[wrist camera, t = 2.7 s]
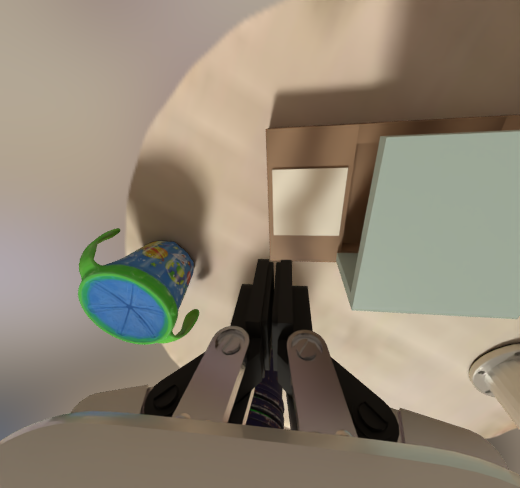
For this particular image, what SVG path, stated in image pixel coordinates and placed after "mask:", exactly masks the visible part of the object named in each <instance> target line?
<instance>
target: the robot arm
mask: <svg viewBox="0 0 520 488" xmlns="http://www.w3.org/2000/svg"><path fill="white" fill-rule="evenodd" d="M272 343H273V370H274V371H278V383H279V384H280V385H281V386H282V388H283V389H284V390H285V391H286V397H287V404H288V412H289V419H290V427H291V430H286V429H277V428H268V427H258V426H249V425H246V421H247V417H248V414H249V410H250V406H251V402H252V399H253V395H254V389H255V387H256V386H257V385H258V384H259V383H260V382H261V381H262V378H264V377H265V370H270V361H271V347H272ZM469 378H470V381H471V382H472V384H473V385H474V387H475V388H476V389H477V390H478V391H480V392H481V393H483V394H486V395H488V396H491V397H495V398H496V399H497V400H498V402H499V403H500V404H501V406H502V407H503V408H504V410H505V411H506V413H507V414H508V415H509V417H510V418H511V419H512V421H513V422H514V423H515V425H516V426H517V428H518V429H519V430H520V344H513V345H509V346H505V347H502V348H499V349H496V350H493V351H491V352H489V353H487V354H485V355H484V356H482V357H480V358H479V359H478V360H477V361H476V362H475V363H474V364H473V365H472V367H471V368H470V371H469ZM0 488H520V475H519V474H517V473H514V472H512V471H510V470H509V469H508V466H507V464H506V463H505V461H504V459H503V458H502V456H501V454H500V453H499V452H498V451H497V450H496V449H495V448H494V447H493V445H492V444H491V443H490V442H488V441H487V440H486V439H484V438H483V437H482V436H480V435H479V434H477V433H474V432H472V431H470V430H468V429H465V428H461V427H458V426H455V425H452V424H449V423H446V422H443V421H440V420H437V419H433V418H430V417H427V416H424V415H421V414H418V413H415V412H412V411H409V410H405V409H402V408H400V409H399V410H396V409H393V408H390V407H389V406H388V405H387V404H386V403H385V402H384V401H383V400H382V399H380V398H379V397H378V396H377V395H376V394H374V393H373V392H372V391H371V390H370V389H369V388H367V387H366V386H365V385H364V384H363V383H361V382H360V381H359V380H358V379H357V378H355V377H354V376H353V375H352V374H351V373H349V372H348V371H347V370H346V369H345V368H343V367H342V366H341V365H340V364H339V363H337V362H336V361H335V360H334V359H333V358H331V357H330V354H329V351H328V348H327V345H326V343H325V341H324V339H323V338H322V337H321V336H320V335H318V334H317V333H315V332H313V331H312V322H311V313H310V304H309V296H308V287H307V286H292V260H281V262H277V263H276V275H275V288H274V266H273V262H269V259H258V263H257V268H256V273H255V277H254V282H253V285H251V284H242V286H241V290H240V293H239V297H238V300H237V304H236V308H235V311H234V315H233V318H232V322H231V326H228V327H225V328H223V329H221V330H219V331H218V332H217V333H216V334H215V335H214V337H213V338H212V340H211V342H210V344H209V346H208V348H207V350H206V352H204V353H203V354H201V355H200V356H198V357H197V358H195V359H194V360H192V361H191V362H189V363H188V364H186V365H184V366H183V367H181V368H180V369H178V370H177V371H175V372H174V373H172V374H171V375H169V376H168V377H166V378H165V379H163V380H162V381H160V382H159V383H158V384H157V385H155V386H154V387H149V385H144V386H137V387H131V388H125V389H118V390H112V391H106V392H100V393H95V394H93V395H89V396H88V397H86V398H85V399H83V400H82V401H81V402H79V403H78V405H76V406H75V407H74V409H73V410H72V412H71V413H69V414H63V415H59V416H56V417H52V418H48V419H45V420H43V421H40V422H37V423H35V424H32V425H29V426H27V427H25V428H22V429H20V430H18V431H16V432H14V433H12V434H11V435H9V436H8V437H6V438H4V439H3V440H1V441H0Z"/></svg>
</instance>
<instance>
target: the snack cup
mask: <svg viewBox="0 0 520 488" xmlns="http://www.w3.org/2000/svg"><path fill="white" fill-rule="evenodd" d="M119 232H120V229H119V228H117V229H113V230H111V231H108V232H106V233H104V234H102V235H101V236H99V237H98V238H97V239H95V240H94V241H93V242H92V243H91V244H89V246H87V248H86V249H85V250H84V252H83V254H82V256H81V258H80V263H79V271H80V274H81V277H82V282H81V284H80V286H79V290H78V296H79V301H80V304H81V306H82V308H83V310H84V311H85V313H86V314H87V316H88V317H89V318H90V319H91V320H92V321H93V322H94V323H95V324H96V325H97V326H98V327H99V328H101V329H102V330H103V331H105V332H107V333H108V334H110V335H112V336H114V337H116V338H118V339H121V340H123V341H126V342H130V343H134V344H144V345H145V344H154V343H169V342H172V341H175V340H178V339H180V338H182V337H183V336H185V335H186V334H187V333H188V332H189V331H190V330H191V328H192V327H193V326H194V324H195V323H196V321H197V319H198V316H199V310H198V309H194V310H192V311H190V312H189V313H188V314H187V315H186V317H185V319H184V322H183V326H182V329H181V331H180V332H179V333H178V334H177V335H176V336H175V335H174V334H173V332H172V329H173V328H174V325H175V323H176V321H177V317H178V309H179V307H180V305H181V303H182V300H183V298H184V295H185V293H186V290H187V287H188V286H189V283H190V280H191V277H192V275H193V266H194V263H193V260H191V258H190V256H189V254H188V253H187V252H186V251H185V250H184V249H182V248H180V247H179V246H178V245H177V244H176V243H175V242H167V241H155V242H152V243H149V244H148V245H146V246H144V247H142V248H140V249H138V250H137V251H135V252H133V253H131V254H130V255H128V256H126V257H124V258H122V259H120V260H118V261H115V262H112V263H109V264H106V265H104V266H101V265H99V264H97V263H96V262H95V261H94V256H95V252H96V247H97V244H99V243H100V242H102V241H104V240H107V239H110V238H112V237H113V236H115V235H116V234H118V233H119Z"/></svg>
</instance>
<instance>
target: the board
mask: <svg viewBox="0 0 520 488" xmlns="http://www.w3.org/2000/svg"><path fill="white" fill-rule="evenodd" d="M505 130H520V115H506V116H488V117H469V118H451V119H432V120H414V121H395V122H377V123H358V124H340V125H321V126H303V127H284V128H268V129H266V150H267V179H268V208H269V238H270V260H272V261H281V260H292V261H310V262H336V258H337V253H358V252H359V247H360V242H361V236H362V231H363V226H364V220H365V215H366V210H367V204H368V199H369V194H370V188H371V183H372V178H373V173H374V167H375V162H376V157H377V151H378V146H379V141H380V136H396V135H418V134H439V133H461V132H483V131H505Z"/></svg>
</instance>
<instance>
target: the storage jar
mask: <svg viewBox="0 0 520 488" xmlns="http://www.w3.org/2000/svg"><path fill="white" fill-rule="evenodd" d="M283 413H284V403H283V400H282V386H281V385H280V384H279V383H278V371H274V370H273V343H272V347H271V361H270V370H265V377H264V378H262V381H261V382H260V383H259V384H258V385H257V386H256V387H255V389H254V395H253V399H252V402H251V406H250V410H249V414H248V417H247V421H246V425H249V426H258V427H268V428H277V429H284V417H283Z"/></svg>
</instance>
